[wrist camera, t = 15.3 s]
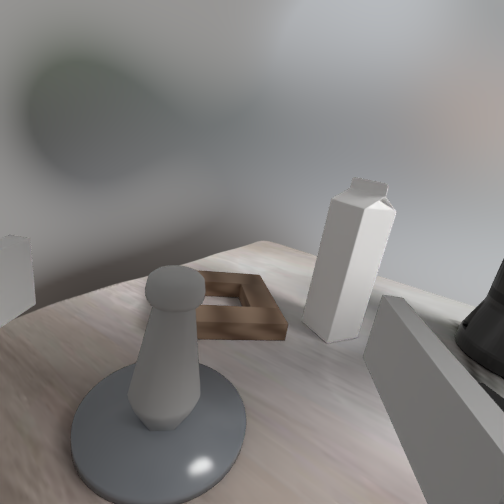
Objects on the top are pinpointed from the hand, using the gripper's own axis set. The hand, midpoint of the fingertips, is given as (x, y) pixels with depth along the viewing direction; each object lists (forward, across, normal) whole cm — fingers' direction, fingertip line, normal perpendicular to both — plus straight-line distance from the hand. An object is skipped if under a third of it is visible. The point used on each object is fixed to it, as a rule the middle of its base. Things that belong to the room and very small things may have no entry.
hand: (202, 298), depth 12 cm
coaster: (+10, -4, -18) cm, 21 cm away
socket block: (+31, -2, -18) cm, 36 cm away
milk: (+31, +14, -19) cm, 39 cm away
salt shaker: (+10, -4, -17) cm, 20 cm away
